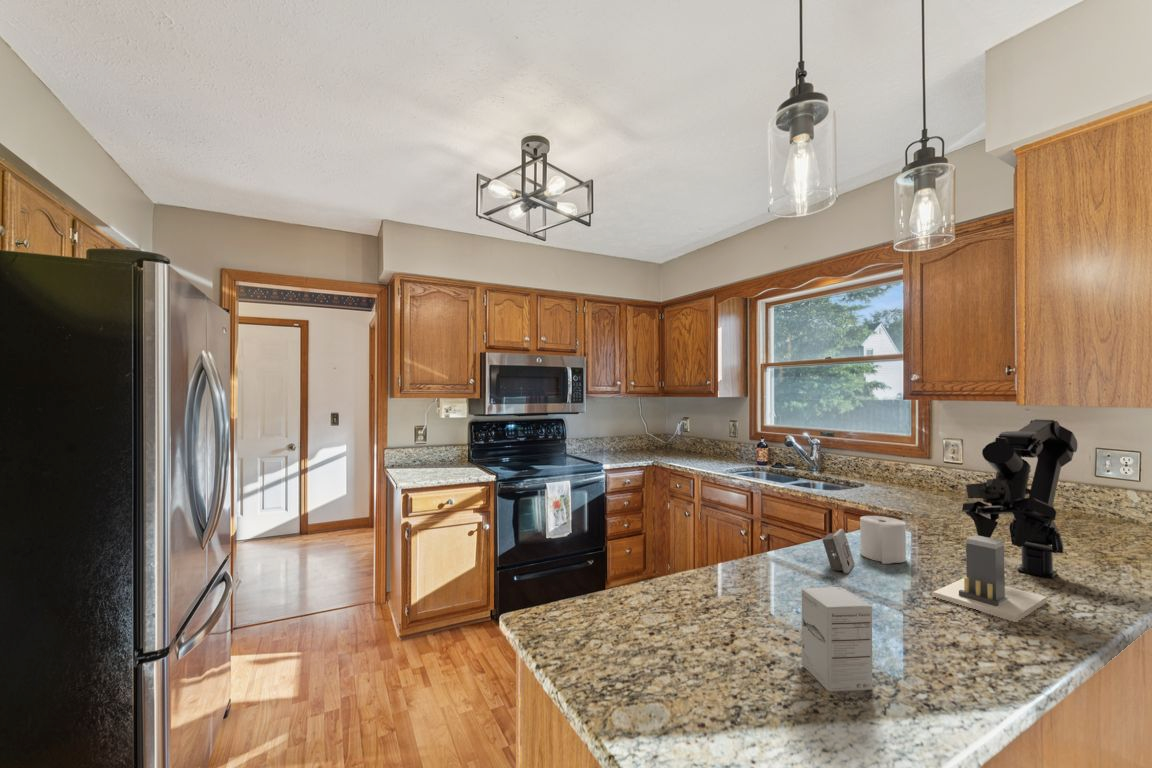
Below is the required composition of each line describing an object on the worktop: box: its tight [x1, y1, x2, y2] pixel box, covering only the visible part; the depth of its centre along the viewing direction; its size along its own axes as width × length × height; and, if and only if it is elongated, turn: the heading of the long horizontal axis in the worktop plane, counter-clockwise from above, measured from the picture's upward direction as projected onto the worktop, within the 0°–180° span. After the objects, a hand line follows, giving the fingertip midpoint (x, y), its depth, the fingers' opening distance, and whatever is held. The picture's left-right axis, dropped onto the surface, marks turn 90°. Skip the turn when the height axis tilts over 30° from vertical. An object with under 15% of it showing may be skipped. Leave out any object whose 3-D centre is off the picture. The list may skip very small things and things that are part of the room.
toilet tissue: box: [859, 515, 907, 564], centre depth 134 cm, size 11×12×10 cm
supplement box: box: [801, 586, 873, 693], centre depth 76 cm, size 7×7×13 cm
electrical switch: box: [822, 528, 855, 575], centre depth 126 cm, size 9×5×9 cm, turn 141°
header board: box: [932, 576, 1048, 623], centre depth 106 cm, size 18×14×5 cm
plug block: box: [965, 534, 1006, 601], centre depth 105 cm, size 5×5×12 cm
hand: (999, 545), depth 111 cm, fingers open, 9 cm apart
